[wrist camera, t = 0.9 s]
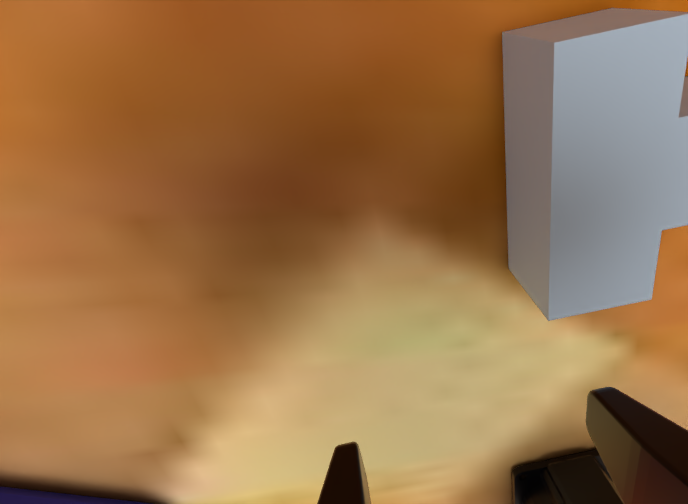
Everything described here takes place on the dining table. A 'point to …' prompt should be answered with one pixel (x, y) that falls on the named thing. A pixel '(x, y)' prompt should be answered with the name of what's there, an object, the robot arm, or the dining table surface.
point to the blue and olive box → (52, 498)
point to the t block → (594, 154)
